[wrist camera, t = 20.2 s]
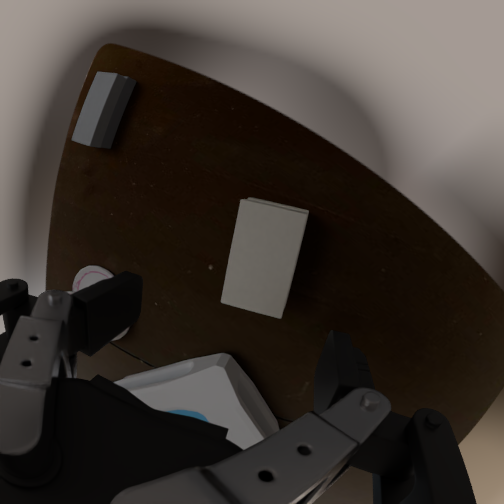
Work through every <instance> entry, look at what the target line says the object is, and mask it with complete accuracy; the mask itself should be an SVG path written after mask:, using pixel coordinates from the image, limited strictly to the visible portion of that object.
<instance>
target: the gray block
mask: <svg viewBox="0 0 504 504" xmlns="http://www.w3.org/2000/svg"><path fill="white" fill-rule="evenodd" d="M135 84H136V81H135V80H133V79H131V78H129V77H126V76H121V75H119V74H116V73H106V72H97V74H96V76H95V79H94V81H93V83H92V86H91V88H90V90H89V93H88V95H87V98H86V100H85V103H84V106H83V108H82V111H81V114H80V116H79V119H78V122H77V125H76V128H75V131H74V134H73V137H72V140H73V141H76V142H79V143H82V144H85V145H88V146H92V147H98V148H100V147H103V148H109V149H110V148H111V145H112V142H113V140H114V137H115V134H116V131H117V128H118V126H119V123H120V120H121V118H122V115H123V113H124V110H125V108H126V105H127V103H128V100H129V98H130V95H131V93H132V91H133V89H134V86H135Z"/></svg>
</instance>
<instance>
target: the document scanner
mask: <svg viewBox="0 0 504 504" xmlns="http://www.w3.org/2000/svg"><path fill="white" fill-rule="evenodd" d="M113 383H115V384H117V385H119V386H121V387H123V388H125V389H127V390H128V391H129V392H131V393H132V394H133V395H135V396H136V397H137V398H139V399H140V400H141V401H143V402H144V403H145V404H147V405H148V406H150V407H151V408H153V409H156V410H160V411H165V412H170V413H175V414H180V415H186V416H191V417H195V418H198V419H200V420H203V421H206V422H209V423H212V424H215V425H219V426H222V427H225V428H228V429H229V430H228V433H227V437H226V439H227V440H229V441H231V442H233V443H234V444H236V445H238V446H239V447H240V448H242V449H243V450H245V449H246V448H248V447H250V446H252V445H254V444H256V443H258V442H260V441H261V440H263V439H265V438H267V437H269V436H270V435H272V434H274V433H276V432H277V431H279V426H278V422H277V420H276V418H275V417H274V415H273V413H272V412H271V410H270V409H269V407H268V406H267V404H266V402H265V401H264V399H263V398H262V396H261V394H260V393H259V391H258V390H257V388H256V386H255V385H254V383H253V382H252V381H251V379H250V378H249V377H248V376H247V375H246V373H245V372H244V371H243V370H242V368H241V367H240V366H239V365H238V364H237V362H236V361H235V360H234V359H233V357H232V356H231V355H228V354H225V353H219V354H214V355H209V356H204V357H199V358H194V359H188V360H185V361H181V362H178V363H174V364H171V365H167V366H164V367H160V368H157V369H153V370H149V371H145V372H142V373H138V374H134V375H130V376H126V377H125V378H124V379H122V380H119V381H116V382H113Z"/></svg>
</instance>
